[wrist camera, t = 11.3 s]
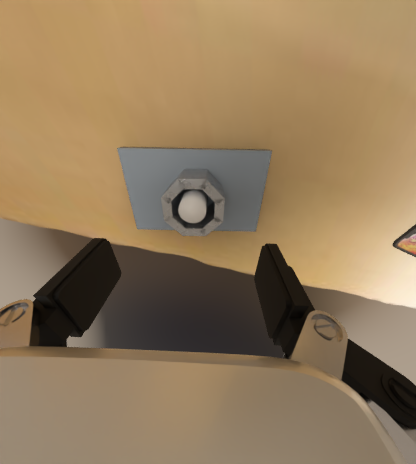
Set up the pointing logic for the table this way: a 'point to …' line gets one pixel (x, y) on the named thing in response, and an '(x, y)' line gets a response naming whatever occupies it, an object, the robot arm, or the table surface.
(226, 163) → the shaft stand
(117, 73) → the table surface
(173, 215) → the hub
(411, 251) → the smartphone
